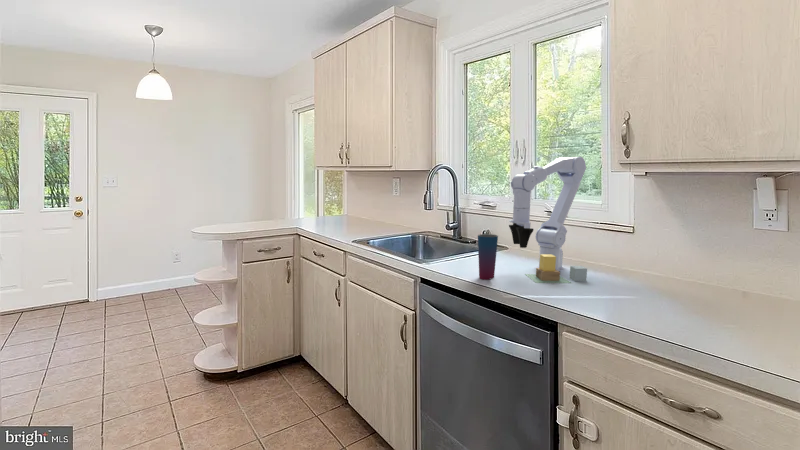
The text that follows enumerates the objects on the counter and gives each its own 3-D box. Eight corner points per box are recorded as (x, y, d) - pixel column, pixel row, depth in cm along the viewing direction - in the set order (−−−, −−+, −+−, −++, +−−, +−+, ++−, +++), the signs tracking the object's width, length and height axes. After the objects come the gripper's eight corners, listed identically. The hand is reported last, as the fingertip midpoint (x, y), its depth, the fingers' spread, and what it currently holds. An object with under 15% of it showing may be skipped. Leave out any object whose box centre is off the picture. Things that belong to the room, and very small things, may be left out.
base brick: (535, 276, 148) (536, 267, 148) (552, 276, 148) (553, 267, 148) (541, 280, 142) (542, 271, 142) (559, 280, 142) (560, 271, 142)
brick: (569, 280, 146) (570, 265, 145) (580, 280, 146) (581, 266, 146) (574, 283, 142) (575, 268, 141) (586, 283, 142) (587, 268, 142)
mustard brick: (539, 268, 147) (540, 254, 146) (550, 268, 147) (551, 254, 146) (543, 271, 143) (544, 256, 142) (555, 271, 143) (556, 256, 142)
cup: (496, 281, 143) (498, 237, 141) (476, 279, 144) (477, 236, 143) (496, 276, 150) (497, 234, 148) (477, 275, 151) (478, 233, 149)
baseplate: (524, 275, 151) (524, 274, 151) (557, 276, 151) (558, 274, 151) (535, 284, 139) (535, 282, 139) (571, 284, 139) (572, 283, 139)
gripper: (504, 206, 158) (503, 242, 160) (516, 209, 144) (514, 249, 145) (523, 206, 158) (521, 242, 160) (537, 210, 144) (535, 249, 145)
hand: (519, 245), depth 153 cm, fingers open, 7 cm apart
